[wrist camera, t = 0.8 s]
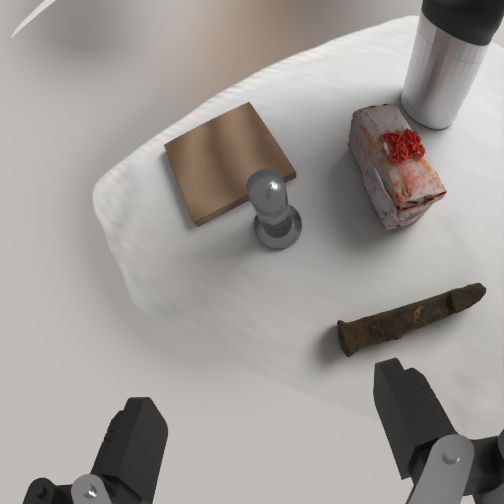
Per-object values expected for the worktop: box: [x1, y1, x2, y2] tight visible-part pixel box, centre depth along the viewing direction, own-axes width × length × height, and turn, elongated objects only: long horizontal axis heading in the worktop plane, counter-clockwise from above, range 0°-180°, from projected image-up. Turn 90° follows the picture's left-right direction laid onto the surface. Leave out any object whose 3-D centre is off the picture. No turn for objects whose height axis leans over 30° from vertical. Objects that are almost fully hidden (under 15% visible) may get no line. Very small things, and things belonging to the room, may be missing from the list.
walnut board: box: [164, 102, 296, 226], centre depth 40 cm, size 14×14×2 cm
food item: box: [348, 104, 447, 230], centre depth 31 cm, size 14×8×10 cm, turn 17°
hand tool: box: [337, 283, 486, 357], centre depth 29 cm, size 19×4×5 cm, turn 100°
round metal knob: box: [246, 169, 302, 249], centre depth 32 cm, size 6×6×11 cm
